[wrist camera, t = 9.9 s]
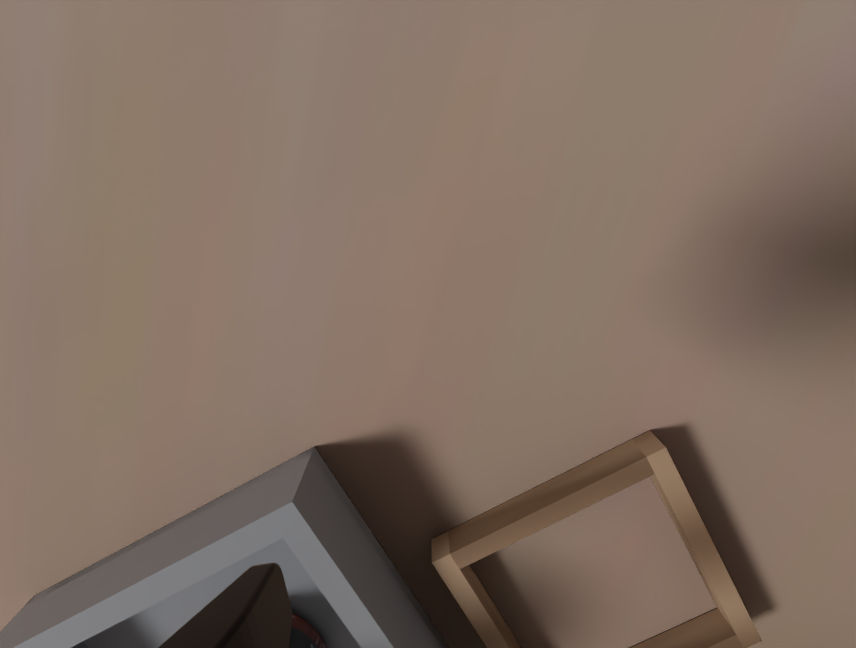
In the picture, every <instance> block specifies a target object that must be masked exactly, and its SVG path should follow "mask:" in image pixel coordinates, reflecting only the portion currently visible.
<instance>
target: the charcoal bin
mask: <svg viewBox="0 0 856 648" xmlns="http://www.w3.org/2000/svg"><path fill="white" fill-rule="evenodd" d="M267 563H277V564H278V565H279V566H280V568H281V570H282V573H283V577H284V581H285V584H286V588H287V592H288V596H289V600H290V604H291V609H292V613H294V614H297V615H298V616H300V617H302V618H303V619H305V620H306V621H307V622H308V623H310V624H311V625H312V626H313V627H314V628H315V629H316V630H317V632H318V633H319V635H320V636H321V637H322V639H323V641H324V642H325V644H326V647H327V648H448V646H447V645H446V643H445V642H444V640H443V639H442V637H441V636H440V634H439V633H438V631H437V630H436V628H435V627H434V625H433V624H432V622H431V621H430V619H429V618H428V616H427V615H426V613H425V612H424V610H423V609H422V607H421V606H420V604H419V603H418V601H417V600H416V598H415V597H414V595H413V594H412V592H411V591H410V589H409V588H408V586H407V585H406V583H405V582H404V580H403V579H402V577H401V576H400V574H399V573H398V571H397V570H396V568H395V567H394V565H393V564H392V562H391V561H390V559H389V558H388V556H387V555H386V553H385V552H384V550H383V549H382V547H381V546H380V544H379V543H378V541H377V540H376V538H375V537H374V535H373V534H372V532H371V531H370V529H369V528H368V526H367V525H366V523H365V522H364V520H363V519H362V517H361V516H360V514H359V513H358V511H357V510H356V508H355V507H354V505H353V504H352V502H351V501H350V499H349V498H348V496H347V495H346V493H345V492H344V490H343V489H342V487H341V486H340V484H339V483H338V481H337V480H336V478H335V477H334V475H333V474H332V472H331V471H330V469H329V468H328V466H327V465H326V463H325V462H324V460H323V459H322V457H321V456H320V454H319V453H318V452H317V450H316V449H315V447H313V448H311V449H309V450H307V451H305V452H303V453H301V454H299V455H298V456H296V457H294V458H292V459H290V460H288V461H286V462H284V463H283V464H281V465H279V466H277V467H275V468H273V469H271V470H269V471H268V472H266V473H264V474H262V475H260V476H258V477H256V478H254V479H253V480H251V481H249V482H247V483H245V484H243V485H241V486H239V487H237V488H236V489H234V490H232V491H230V492H228V493H226V494H224V495H222V496H221V497H219V498H217V499H215V500H213V501H211V502H209V503H207V504H206V505H204V506H202V507H200V508H198V509H196V510H194V511H192V512H191V513H189V514H187V515H185V516H183V517H181V518H179V519H177V520H176V521H174V522H172V523H170V524H168V525H166V526H164V527H162V528H160V529H159V530H157V531H155V532H153V533H151V534H149V535H147V536H145V537H144V538H142V539H140V540H138V541H136V542H134V543H132V544H130V545H129V546H127V547H125V548H123V549H121V550H119V551H117V552H115V553H114V554H112V555H110V556H108V557H106V558H104V559H102V560H100V561H99V562H97V563H95V564H93V565H91V566H89V567H87V568H85V569H84V570H82V571H80V572H78V573H76V574H74V575H72V576H70V577H68V578H67V579H65V580H63V581H61V582H59V583H57V584H55V585H53V586H52V587H50V588H48V589H46V590H44V591H42V592H40V593H38V594H37V595H35V596H33V597H32V599H31V600H30V601H29V602H28V603H27V604H26V605H25V606H24V607H23V608H22V609H21V610H20V611H19V612H18V613H17V615H16V616H15V617H14V618H13V619H12V620H11V621H10V622H9V623H8V624H7V625H6V626H5V627H4V628H3V629H2V630H1V632H0V648H158V647H159V646H160V645H161V644H163V643H164V642H165V641H166V640H167V639H168V638H169V637H171V636H172V635H173V634H174V633H175V632H176V631H177V630H179V629H180V628H181V627H182V626H183V625H184V624H186V623H187V622H188V621H189V620H190V619H191V618H192V617H194V616H195V615H196V614H197V613H198V612H199V611H200V610H202V609H203V608H204V607H205V606H206V605H207V604H208V603H210V602H211V601H212V600H213V599H214V598H215V597H216V596H218V595H219V594H220V593H221V592H222V591H223V590H224V589H226V588H227V587H228V586H229V585H230V584H231V583H232V582H234V581H235V580H236V579H237V578H238V577H239V576H241V575H242V574H243V573H244V572H245V571H246V570H247V569H249V568H250V567H251V566H254V565H260V564H267Z"/></svg>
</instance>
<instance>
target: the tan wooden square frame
mask: <svg viewBox="0 0 856 648" xmlns="http://www.w3.org/2000/svg"><path fill="white" fill-rule="evenodd" d="M649 476H651V478H652V480H653V482H654V484H655V486H656V488H657V490H658V492H659V494H660V496H661V498H662V500H663V502H664V504H665V506H666V508H667V510H668V512H669V514H670V516H671V518H672V519H673V521H674V523H675V525H676V527H677V529H678V531H679V533H680V535H681V537H682V539H683V541H684V543H685V545H686V547H687V549H688V551H689V553H690V555H691V557H692V559H693V561H694V563H695V565H696V567H697V568H698V570H699V572H700V574H701V576H702V578H703V580H704V582H705V584H706V586H707V588H708V590H709V592H710V594H711V596H712V598H713V600H714V602H715V604H716V606H717V609H714V610H712V611H710V612H708V613H706V614H703V615H701V616H699V617H697V618H695V619H692V620H690V621H688V622H686V623H684V624H681V625H679V626H677V627H675V628H673V629H670V630H668V631H666V632H664V633H662V634H659V635H657V636H655V637H653V638H651V639H649V640H646V641H644V642H642V643H640V644H638V645H635V646H633V647H631V648H747V647H749V646H751V645H753V644H756V643H758V642H760V641H762V640H761V638H760V636H759V634H758V632H757V630H756V628H755V626H754V624H753V622H752V620H751V618H750V616H749V614H748V612H747V610H746V608H745V606H744V604H743V602H742V600H741V598H740V596H739V594H738V592H737V590H736V588H735V586H734V584H733V582H732V580H731V578H730V576H729V574H728V572H727V570H726V568H725V566H724V564H723V562H722V560H721V558H720V555H719V553H718V551H717V549H716V547H715V545H714V543H713V541H712V539H711V537H710V535H709V533H708V531H707V529H706V527H705V525H704V523H703V521H702V519H701V517H700V515H699V513H698V511H697V509H696V507H695V505H694V503H693V501H692V499H691V497H690V495H689V493H688V491H687V489H686V487H685V485H684V483H683V481H682V479H681V477H680V475H679V473H678V471H677V469H676V467H675V465H674V463H673V461H672V459H671V457H670V455H669V453H668V451H667V449H666V447H665V446H664V445H663V444H662V443H661V442H660V441H659V439H658V438H657V437H656V436H655V435H654V434H653V433H652V432H651V431H650V430H649V431H647V432H645V433H643V434H641V435H639V436H637V437H635V438H633V439H631V440H629V441H627V442H625V443H623V444H621V445H619V446H617V447H615V448H613V449H611V450H609V451H607V452H605V453H603V454H601V455H599V456H597V457H595V458H593V459H591V460H589V461H587V462H585V463H583V464H581V465H579V466H577V467H575V468H573V469H571V470H569V471H567V472H565V473H563V474H561V475H559V476H557V477H555V478H553V479H551V480H549V481H547V482H545V483H543V484H541V485H539V486H537V487H535V488H533V489H531V490H529V491H527V492H525V493H523V494H521V495H519V496H517V497H515V498H513V499H511V500H509V501H507V502H505V503H503V504H501V505H499V506H497V507H495V508H493V509H491V510H489V511H487V512H485V513H483V514H481V515H479V516H477V517H475V518H473V519H471V520H469V521H467V522H465V523H463V524H461V525H459V526H457V527H455V528H453V529H451V530H449V531H447V532H445V533H443V534H441V535H439V536H437V537H435V538H433V539H431V548H432V564H433V565H434V567H435V568H436V570H437V571H438V573H439V574H440V576H441V578H442V579H443V581H444V582H445V584H446V585H447V587H448V588H449V590H450V591H451V593H452V595H453V596H454V598H455V599H456V601H457V602H458V604H459V605H460V607H461V609H462V610H463V612H464V613H465V615H466V616H467V618H468V619H469V621H470V622H471V624H472V626H473V627H474V629H475V630H476V632H477V633H478V635H479V636H480V638H481V639H482V641H483V643H484V644H485V646H486V647H487V648H521V647H520V645H519V643H518V642H517V640H516V639H515V637H514V635H513V634H512V632H511V631H510V629H509V627H508V626H507V624H506V623H505V621H504V619H503V618H502V616H501V615H500V613H499V611H498V610H497V608H496V607H495V605H494V603H493V602H492V600H491V599H490V597H489V596H488V594H487V592H486V591H485V589H484V588H483V586H482V584H481V583H480V581H479V580H478V578H477V576H476V575H475V573H474V572H473V570H472V568H471V567H470V564H472V563H474V562H476V561H478V560H480V559H482V558H484V557H486V556H488V555H490V554H492V553H494V552H496V551H498V550H500V549H502V548H504V547H506V546H508V545H510V544H512V543H515V542H517V541H519V540H521V539H523V538H525V537H527V536H529V535H531V534H533V533H535V532H537V531H539V530H541V529H543V528H545V527H547V526H549V525H551V524H553V523H555V522H557V521H559V520H562V519H564V518H566V517H568V516H570V515H572V514H574V513H576V512H578V511H580V510H582V509H584V508H586V507H588V506H590V505H592V504H594V503H596V502H598V501H600V500H602V499H604V498H606V497H608V496H611V495H613V494H615V493H617V492H619V491H621V490H623V489H625V488H627V487H629V486H631V485H633V484H635V483H637V482H639V481H641V480H643V479H645V478H647V477H649Z"/></svg>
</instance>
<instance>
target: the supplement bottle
mask: <svg viewBox="0 0 856 648" xmlns="http://www.w3.org/2000/svg"><path fill="white" fill-rule="evenodd" d="M288 648H327V647H326V644H325V642H324V641H323V639H322V637H321V636H320V635H319V633H318V632H317V630H316V629H315V628H314V627H313V626H312V625H311V624H310V623H308V622H307V621H306V620H305V619H303V618H302V617H300V616H298V615H297V614H294V613H292V625H291V632H290V640H289V647H288Z"/></svg>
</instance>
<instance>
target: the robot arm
mask: <svg viewBox="0 0 856 648" xmlns="http://www.w3.org/2000/svg"><path fill="white" fill-rule="evenodd" d="M291 625H292V609H291V604H290V600H289V596H288V592H287V588H286V584H285V581H284V577H283V573H282V570H281V568H280V566H279V565H278V564H277V563H267V564H260V565H254V566H251V567H250V568H249V569H247V570H246V571H245V572H244V573H243V574H242V575H241V576H239V577H238V578H237V579H236V580H235V581H234V582H232V583H231V584H230V585H229V586H228V587H227V588H226V589H224V590H223V591H222V592H221V593H220V594H219V595H218V596H216V597H215V598H214V599H213V600H212V601H211V602H210V603H208V604H207V605H206V606H205V607H204V608H203V609H202V610H200V611H199V612H198V613H197V614H196V615H195V616H194V617H192V618H191V619H190V620H189V621H188V622H187V623H186V624H184V625H183V626H182V627H181V628H180V629H179V630H177V631H176V632H175V633H174V634H173V635H172V636H171V637H169V638H168V639H167V640H166V641H165V642H164V643H163V644H161V645H160V646H159V647H158V648H288V647H289V640H290V632H291Z"/></svg>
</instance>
